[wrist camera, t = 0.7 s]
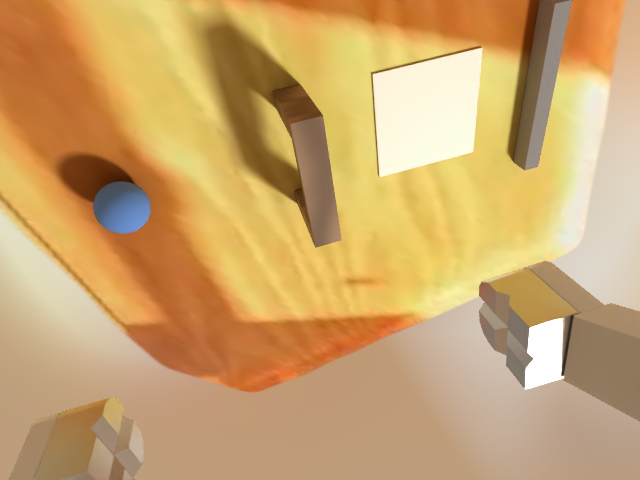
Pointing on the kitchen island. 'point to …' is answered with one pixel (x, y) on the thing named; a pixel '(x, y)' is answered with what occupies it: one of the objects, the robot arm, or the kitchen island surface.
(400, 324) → the kitchen island surface
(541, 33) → the wall
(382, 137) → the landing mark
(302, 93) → the bridge
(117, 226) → the ball
